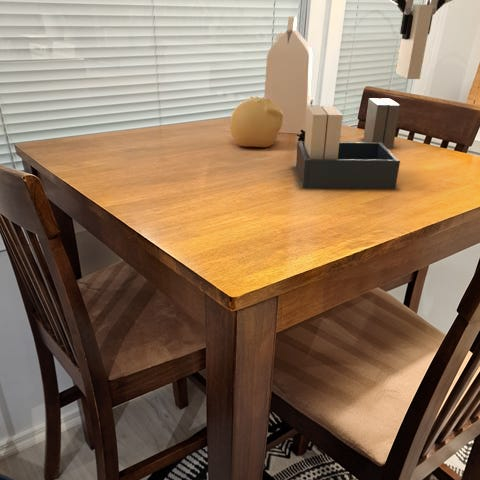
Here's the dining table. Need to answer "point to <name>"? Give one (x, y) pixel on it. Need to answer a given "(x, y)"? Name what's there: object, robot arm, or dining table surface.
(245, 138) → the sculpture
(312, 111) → the white book
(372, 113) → the grey book
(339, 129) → the white book
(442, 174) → the dining table surface
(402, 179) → the dining table surface
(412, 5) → the robot arm
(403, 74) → the white book
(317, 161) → the book box
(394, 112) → the grey book
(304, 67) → the milk
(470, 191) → the dining table surface
